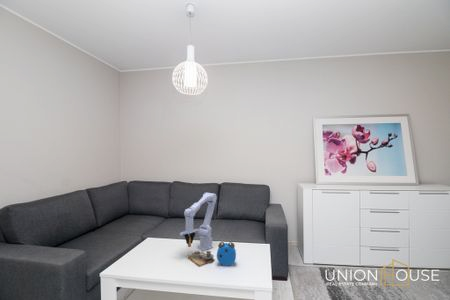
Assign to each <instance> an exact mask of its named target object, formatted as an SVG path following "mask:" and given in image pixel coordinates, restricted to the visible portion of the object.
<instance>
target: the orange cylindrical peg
mask: <svg viewBox="0 0 450 300" xmlns="http://www.w3.org/2000/svg"><path fill="white" fill-rule="evenodd" d="M187 247H188V248H191V247H192V243H191V236H190V235H189V244H187Z"/></svg>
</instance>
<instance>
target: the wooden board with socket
mask: <svg viewBox="0 0 450 300" xmlns="http://www.w3.org/2000/svg"><path fill="white" fill-rule="evenodd" d="M205 252H206V253H205ZM205 252H204V251H199V250H196V251H193V252H191V253H192V254H191V255H188V256H187V259H188V260H189V261H191V262H192V263H193V264H194V265H196V266H197V267H198V268H199V267H202V266H205V265H208V264H210V263H213V262H215V258H214V254H212V253H211V251H210V250H207V251H205Z"/></svg>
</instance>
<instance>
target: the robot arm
mask: <svg viewBox="0 0 450 300" xmlns="http://www.w3.org/2000/svg"><path fill="white" fill-rule="evenodd" d="M217 199H218V197H217V194H216V193H211V192H207V191H206V192H204V193H203V194H202V197H200V199H199V200H198V201H197V202H194V203H193V204H192V205H191V206H189V208H186V209H185V210H184V213H183V215H184V219H185V230H183V231H182V232H180V233H179V236H180V237H182V236H183V237H184V239H185V242H186V244H187V245H188V244H189V236H191V244H193V242H194V238H195V237H196V233H197V234H198V235H199V246H197V248H198V249H200V250H202V252H204V251H206V250H207V251H208V250H210V249H213V237H212V236H211V235H212V227H211V221H212V217H213V214H214V210H215V205H216V203H217ZM204 203H207V208H206V212H205V216H204V220H203V223H202V224H200V226H199V228H194V217H196V213H197V212H198V211H199V210H200V209H201V206H202V205H203V204H204Z"/></svg>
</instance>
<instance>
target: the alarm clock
mask: <svg viewBox="0 0 450 300" xmlns="http://www.w3.org/2000/svg"><path fill="white" fill-rule="evenodd" d="M217 246H218V248H217V253H216V259H217V261H218V262H219V264H220V265H222V266H225V267H227V266H231V265H233V264H234V263H235V261H236V258H237V252H236V248H235V247H236V245H235V244H234V242H232V241H231V242H228V243H227V242H224V241H221V242H219V243H218V245H217Z"/></svg>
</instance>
